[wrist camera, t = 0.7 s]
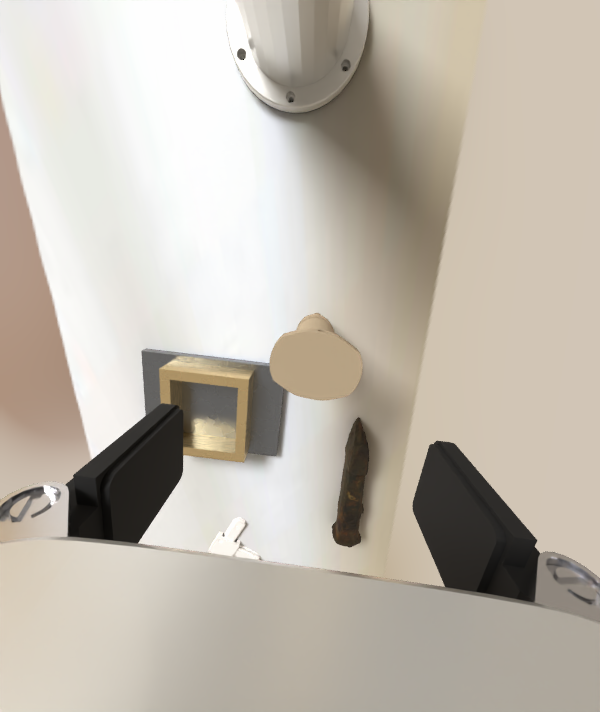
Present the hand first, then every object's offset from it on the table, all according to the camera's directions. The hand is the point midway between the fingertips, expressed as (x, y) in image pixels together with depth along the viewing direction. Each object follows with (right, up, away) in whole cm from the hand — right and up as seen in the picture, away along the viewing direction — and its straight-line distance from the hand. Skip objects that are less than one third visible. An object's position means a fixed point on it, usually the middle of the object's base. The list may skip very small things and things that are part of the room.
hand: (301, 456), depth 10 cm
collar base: (-11, -3, +27) cm, 29 cm away
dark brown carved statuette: (+7, -13, +30) cm, 33 cm away
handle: (+2, +8, +23) cm, 24 cm away
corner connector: (-9, -26, +35) cm, 44 cm away
